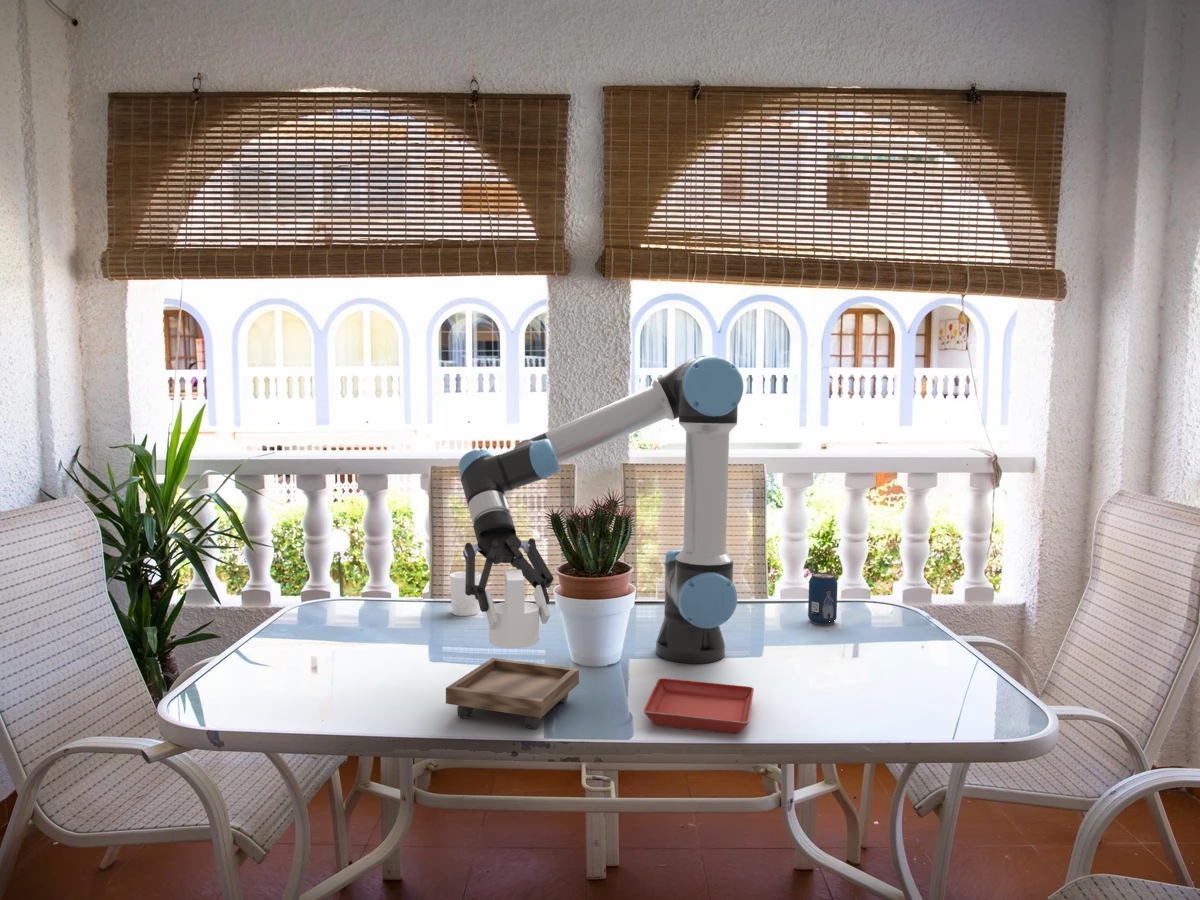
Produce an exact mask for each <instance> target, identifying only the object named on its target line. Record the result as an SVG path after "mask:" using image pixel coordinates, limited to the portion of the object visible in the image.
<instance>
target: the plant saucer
mask: <svg viewBox="0 0 1200 900" xmlns="http://www.w3.org/2000/svg"><path fill="white" fill-rule="evenodd" d="M754 690H755V688H754V687H752V686H744V685H734V684H727V683H726V684H724V683H715V682H708V681H707V682H706V681H705V682H704V681H695V680H684V679H677V678H676V679H673V678H665V677H664V678H663V677H662V678H661V677H660V678H658V679H657V681H656V683H655V685H654V686H653V689H652V691H651V693H650V695H649V697H648V700H647V702H646V704H645V706H644V708H643V712H644V714H645V715H646V716H647V718H648V719H649V720H650V721H651V722H652V723H653V724H654V725H655V726H659V727H666V728H667V727H668V728H669V727H670V728H677V729H678V728H680V729H689V730H698V731H708V732H715V733H716V732H717V733H728V734H739V733H741V731H743V730H745V729H744V728H745V727H747V725H749V723H750V718H751V710H752V703H753V696H754Z"/></svg>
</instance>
